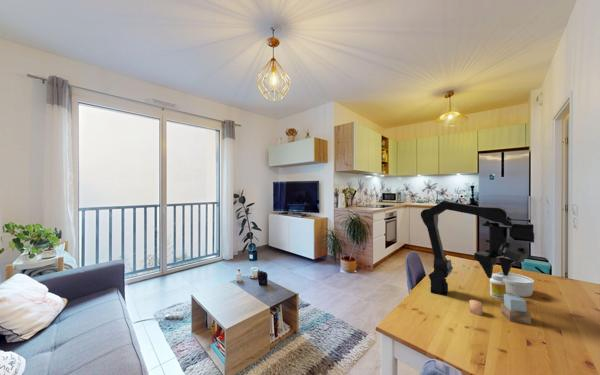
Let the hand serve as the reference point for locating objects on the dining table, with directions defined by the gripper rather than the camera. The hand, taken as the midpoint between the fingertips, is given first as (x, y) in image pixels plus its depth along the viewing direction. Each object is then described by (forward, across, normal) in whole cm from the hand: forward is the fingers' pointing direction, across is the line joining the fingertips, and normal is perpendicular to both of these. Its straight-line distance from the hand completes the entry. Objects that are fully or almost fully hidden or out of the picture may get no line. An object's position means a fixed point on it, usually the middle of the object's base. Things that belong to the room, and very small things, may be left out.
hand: (497, 276), depth 90 cm
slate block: (+9, -2, -7) cm, 11 cm away
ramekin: (+13, +24, +8) cm, 29 cm away
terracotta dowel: (+13, -11, +1) cm, 17 cm away
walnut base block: (+13, -1, -7) cm, 15 cm away
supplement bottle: (+13, +12, +7) cm, 19 cm away
